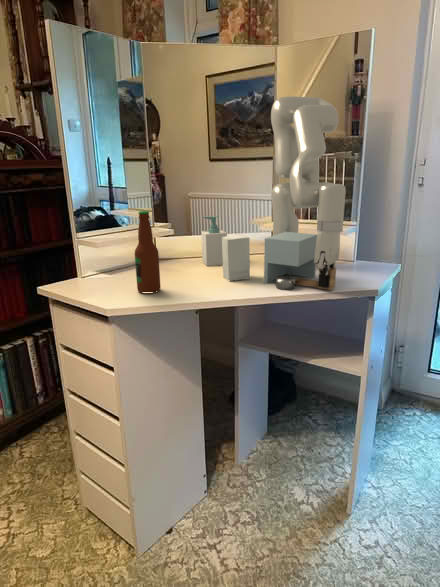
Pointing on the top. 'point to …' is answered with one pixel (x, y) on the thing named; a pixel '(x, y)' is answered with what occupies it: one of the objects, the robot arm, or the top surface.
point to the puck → (285, 283)
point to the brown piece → (315, 283)
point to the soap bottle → (212, 244)
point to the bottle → (146, 257)
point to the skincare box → (236, 257)
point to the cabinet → (289, 255)
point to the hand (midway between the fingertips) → (326, 284)
